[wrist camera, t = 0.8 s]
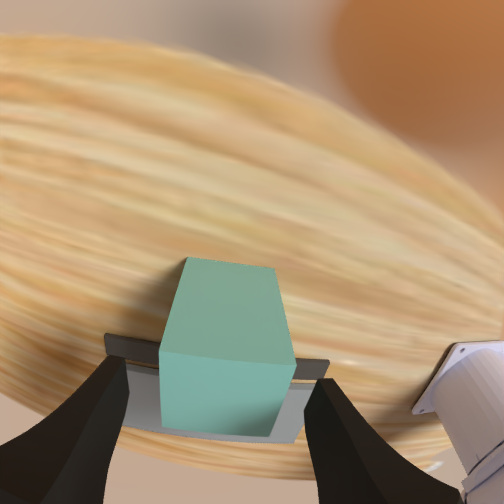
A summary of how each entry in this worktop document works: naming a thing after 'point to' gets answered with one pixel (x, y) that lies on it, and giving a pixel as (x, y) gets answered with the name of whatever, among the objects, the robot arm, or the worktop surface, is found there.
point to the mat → (149, 418)
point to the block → (225, 351)
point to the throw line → (150, 350)
